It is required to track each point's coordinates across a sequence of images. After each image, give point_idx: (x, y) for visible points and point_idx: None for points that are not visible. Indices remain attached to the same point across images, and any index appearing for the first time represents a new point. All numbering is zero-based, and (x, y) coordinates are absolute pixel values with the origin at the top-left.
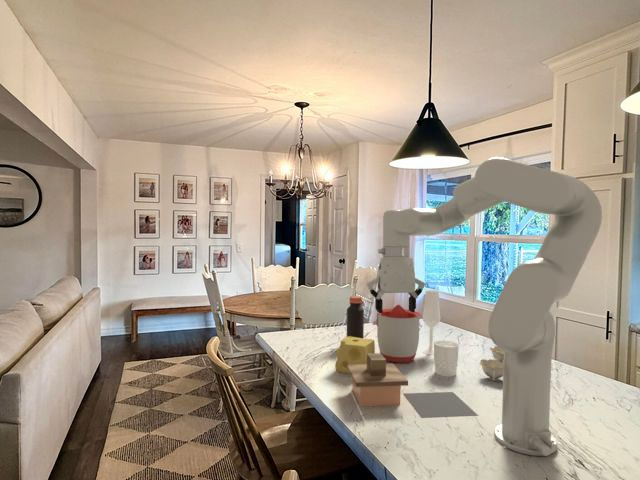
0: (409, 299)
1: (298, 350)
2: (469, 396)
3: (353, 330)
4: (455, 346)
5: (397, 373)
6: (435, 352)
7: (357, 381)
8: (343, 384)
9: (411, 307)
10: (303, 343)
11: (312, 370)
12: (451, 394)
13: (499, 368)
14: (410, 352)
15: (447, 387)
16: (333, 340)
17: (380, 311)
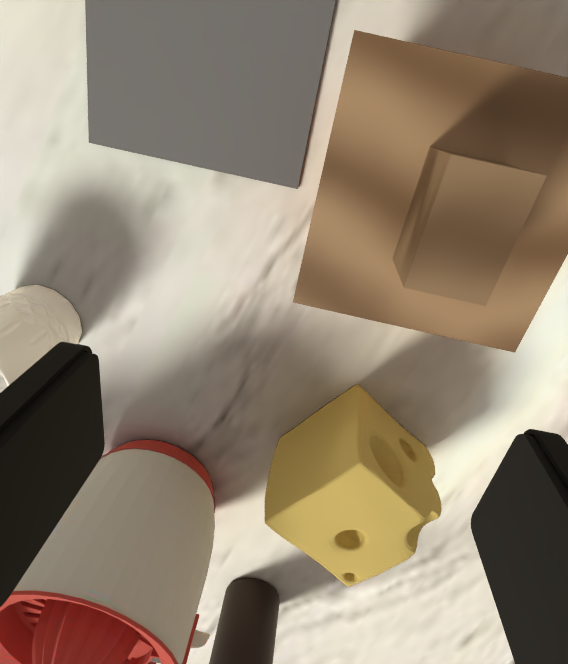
0: (8, 565)
1: (446, 616)
2: (36, 87)
3: (257, 647)
4: None
5: (346, 165)
6: None
7: None
8: (467, 344)
9: (67, 410)
10: (400, 651)
11: None
12: (105, 118)
13: None
14: (118, 458)
15: (90, 200)
16: (296, 643)
17: (561, 446)
